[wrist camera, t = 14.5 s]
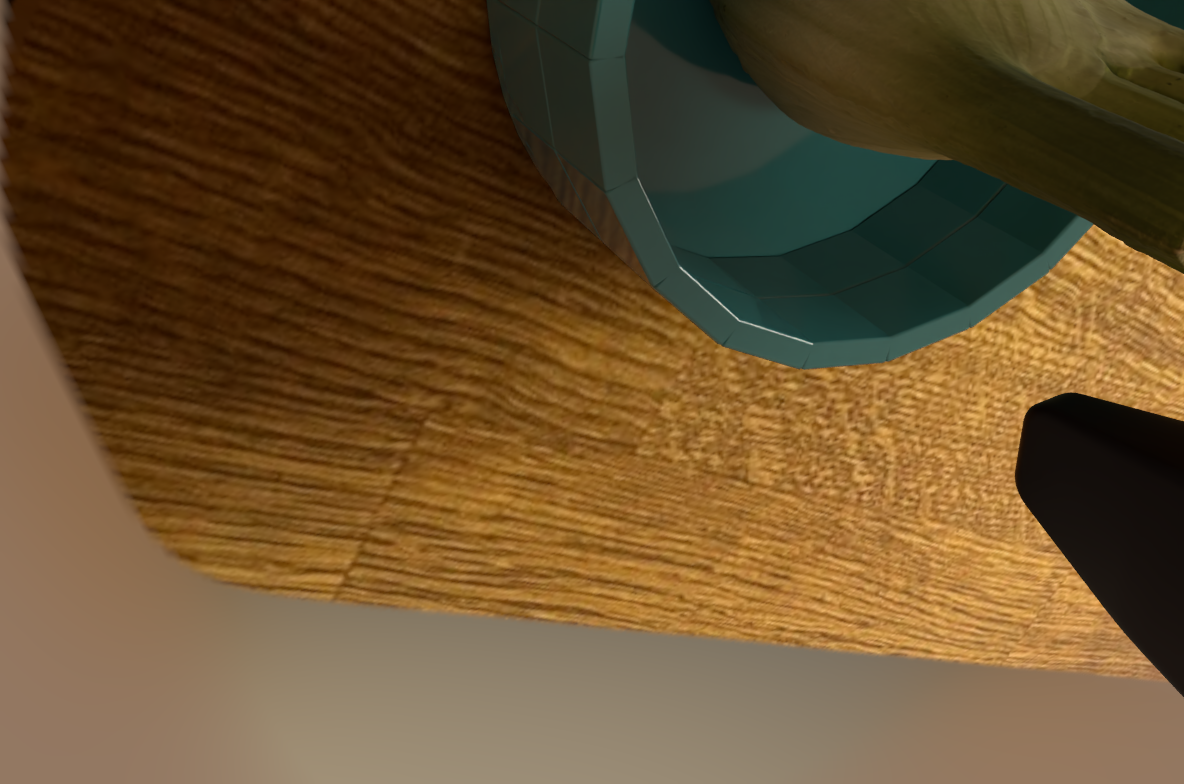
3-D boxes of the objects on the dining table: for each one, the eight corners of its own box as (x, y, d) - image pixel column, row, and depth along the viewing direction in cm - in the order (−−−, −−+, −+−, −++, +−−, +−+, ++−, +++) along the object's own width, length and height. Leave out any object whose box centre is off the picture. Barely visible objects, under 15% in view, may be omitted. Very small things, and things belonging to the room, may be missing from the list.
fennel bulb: (628, 31, 20) (1158, 327, 11) (763, -237, 19) (1496, -148, 10) (834, 142, 24) (1369, 439, 15) (962, -78, 22) (1643, 98, 13)
